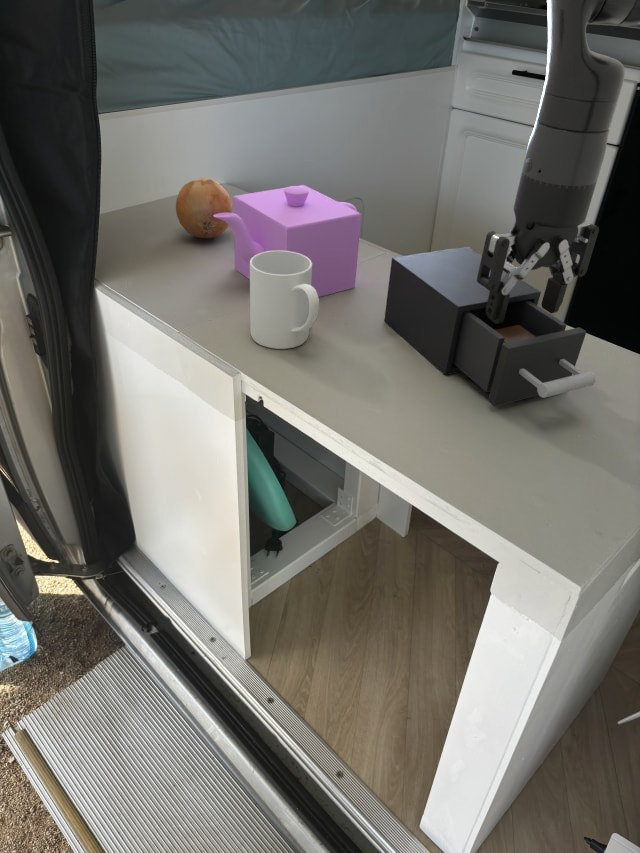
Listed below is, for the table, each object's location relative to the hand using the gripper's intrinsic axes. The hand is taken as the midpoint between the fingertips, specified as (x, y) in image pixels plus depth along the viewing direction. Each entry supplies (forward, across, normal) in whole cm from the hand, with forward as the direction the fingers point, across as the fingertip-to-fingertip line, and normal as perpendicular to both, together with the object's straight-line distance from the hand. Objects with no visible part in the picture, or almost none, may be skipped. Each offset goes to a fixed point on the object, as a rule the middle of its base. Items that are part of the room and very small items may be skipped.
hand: (522, 315), depth 77 cm
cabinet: (+9, 0, +12) cm, 15 cm away
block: (+7, 0, 0) cm, 7 cm away
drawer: (+8, 0, 0) cm, 8 cm away
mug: (+10, -22, +19) cm, 30 cm away
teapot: (+9, -14, +37) cm, 41 cm away
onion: (+9, -21, +59) cm, 63 cm away
